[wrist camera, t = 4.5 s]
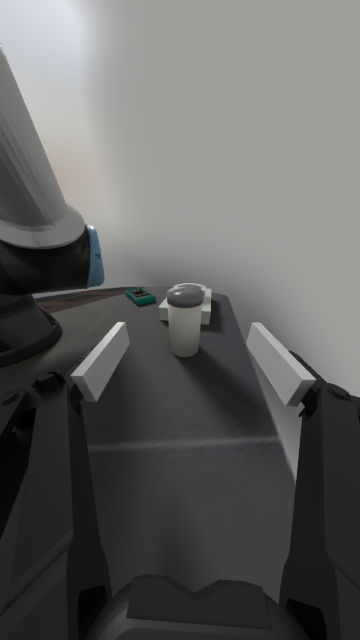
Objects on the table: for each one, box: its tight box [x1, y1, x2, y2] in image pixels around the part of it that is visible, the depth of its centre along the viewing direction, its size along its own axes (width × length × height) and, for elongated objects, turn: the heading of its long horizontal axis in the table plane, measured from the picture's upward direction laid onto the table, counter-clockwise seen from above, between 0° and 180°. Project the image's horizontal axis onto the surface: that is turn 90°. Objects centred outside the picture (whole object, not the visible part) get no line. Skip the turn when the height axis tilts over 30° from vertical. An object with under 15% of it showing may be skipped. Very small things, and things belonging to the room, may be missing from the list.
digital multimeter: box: [125, 288, 156, 305], centre depth 54 cm, size 7×15×3 cm, turn 36°
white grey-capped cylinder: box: [167, 287, 204, 357], centre depth 25 cm, size 6×6×12 cm
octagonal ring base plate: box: [158, 283, 211, 325], centre depth 44 cm, size 14×20×7 cm
